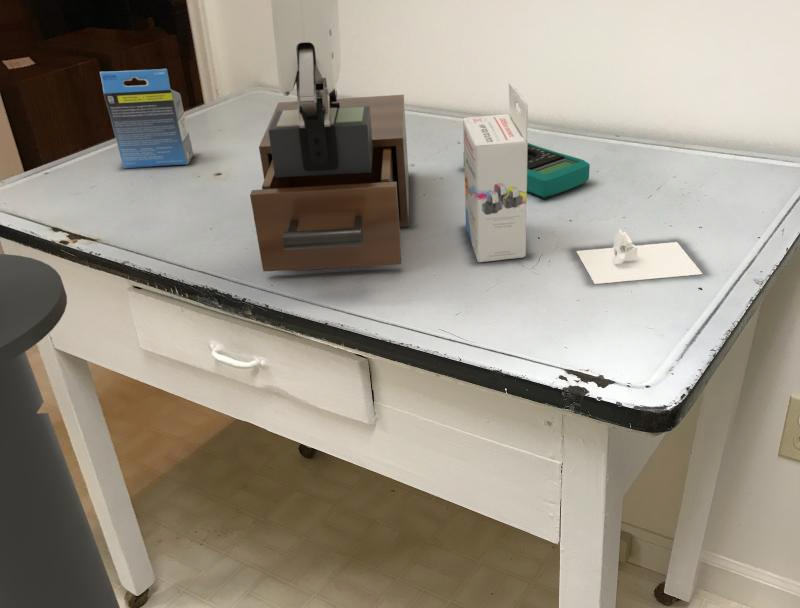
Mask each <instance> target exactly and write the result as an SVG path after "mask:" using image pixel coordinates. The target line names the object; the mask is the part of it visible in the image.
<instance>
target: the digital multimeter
mask: <svg viewBox="0 0 800 608" xmlns="http://www.w3.org/2000/svg"><path fill="white" fill-rule="evenodd" d="M590 166H591V164H590V163H589V162H588V161H586V160H584V159H582V158H579V157H576V156H571V155H568V154H564V153H561V152H558V151H554V150H551V149H548V148H545V147H542V146H538V145H535V144H532V143H530V142H528V146H527V193H531V194H532V195H536V196H538V197H541V198H543V199H545V198H549V197H552V196H556V195H558V194H561V193H564V192H567V191H569V190H571V189H574V188H577V187H579V186H581V185H582V184H583V185H584V184H585V183H586V182H588V181H589V180H590Z"/></svg>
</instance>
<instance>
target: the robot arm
mask: <svg viewBox="0 0 800 608" xmlns="http://www.w3.org/2000/svg"><path fill="white" fill-rule="evenodd" d="M270 2H271V3H270V5H271V16H272V17H271V18H272V25H273V26H272V27H273V35H274V36H273V38H274V46H275V55H276V67H277V78H278V89H279V92H280V93H281V94H282V95H283V96H285V97H288V96H290V93H291V92H294V89H295V86H296V99H297V100H296V101H297V102H298V116H299V128H298V129H299V137H300V145H301V153H302V161H303V168H304V170H305V171H323V170H336V169H337V168H338V156H337V146H336V135H335V125H334V124H333V125H331V115H330V108H340V103H332V102H337V99H338V89H337V84H338V80H339V77H340V72H341V34H340V18H339V16H340V15H339V5H338V0H270ZM322 108H323V110H322Z"/></svg>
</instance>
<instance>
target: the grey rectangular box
mask: <svg viewBox="0 0 800 608" xmlns="http://www.w3.org/2000/svg"><path fill="white" fill-rule="evenodd" d="M322 110H323V108H322ZM330 115H331V125H333V124H334V125H335V135H336V146H337V156H338V168H337V169H336V170H323V171H305V170H304V168H303V161H302V153H301V145H300V137H299V129H298V128H299V116H298V110H284V111H277V112H276V114H275V116H274V119H273V121H272V123H271V126H270V128H269V130H268V131H269V138H270V145H271V152H272V159H273V166H274V173H275V178H280V177H299V176H319V175H338V174H357V173H371V167H372V157H373V143H372V130H371V117H370V106H358V107H340V108H330Z"/></svg>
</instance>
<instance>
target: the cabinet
mask: <svg viewBox="0 0 800 608" xmlns="http://www.w3.org/2000/svg"><path fill="white" fill-rule="evenodd" d="M332 103H340V107H358V106H370V117H371V130H372V143H373V147H387V146H392V152H393V166H394V181H395V182H397V196H398V210H399V225H400V228H409V226H410V225H409V224H410V223H409V217H410V213H409V209H410V208H409V207H410V204H409V203H410V201H409V198H410V197H409V195H410V194H409V193H410V192H409V191H410V189H409V188H410V187H409V186H410V185H409V182H410V178H409V176H410V175H409V161H408V160H409V159H408V158H409V157H408V143H407V140H408V139H407V125H406V124H407V123H406V107H405V94H393V95H392V94H391V95H377V96H362V97H343V98H337V102H332ZM284 110H298V102H297V100H296V101H282V102H279V101H278V102H277V104H276V107H275V109H274V110H273V111H274V112H273V114H272V116H271V118H270V120H269V123H268V124H267V127H266V130H265V131H264V134H263V137H262V138H261V141H260V143H259V146H258V149H259V154H260V155H259V156H260V162H261V169H262V174H263V181H264V180H265V177H266V175H267V172H268V169H269V167H270V164H271V162H272V152H271V145H270V138H269V131H268V130H269V128H270V126H271V123H272V121H273V119H274V116H275V114H276V112H277V111H284Z"/></svg>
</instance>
